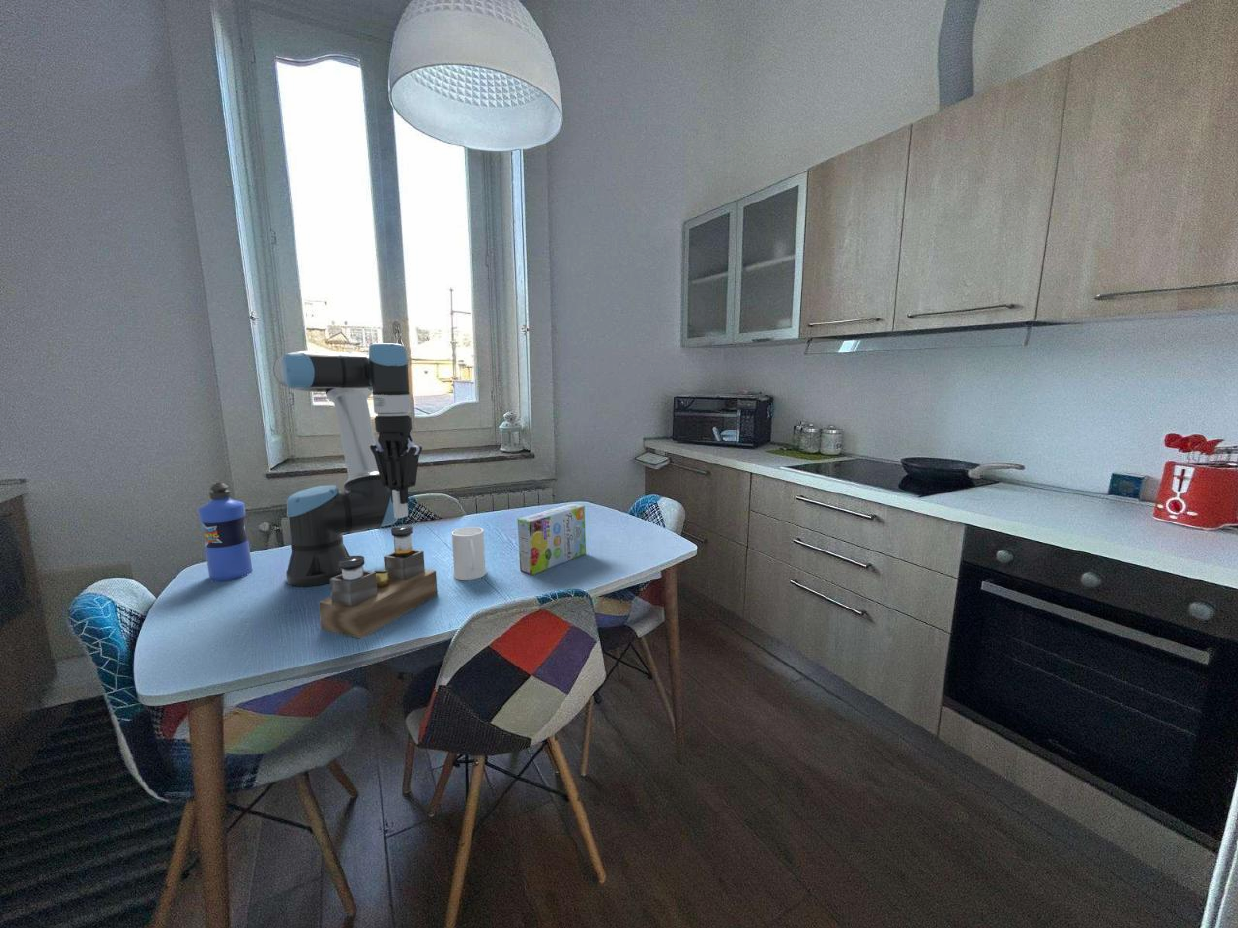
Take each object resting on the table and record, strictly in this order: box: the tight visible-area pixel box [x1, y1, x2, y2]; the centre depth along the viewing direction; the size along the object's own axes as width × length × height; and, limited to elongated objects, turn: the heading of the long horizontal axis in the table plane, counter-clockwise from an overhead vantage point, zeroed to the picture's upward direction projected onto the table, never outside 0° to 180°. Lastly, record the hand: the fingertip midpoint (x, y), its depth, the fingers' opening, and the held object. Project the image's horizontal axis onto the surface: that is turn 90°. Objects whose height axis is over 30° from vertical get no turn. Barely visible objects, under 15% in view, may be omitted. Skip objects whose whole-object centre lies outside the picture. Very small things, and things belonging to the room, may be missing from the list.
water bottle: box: [198, 482, 253, 582], centre depth 127 cm, size 9×9×25 cm
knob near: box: [339, 555, 365, 582], centre depth 101 cm, size 5×5×8 cm
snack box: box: [517, 503, 587, 576], centre depth 137 cm, size 21×6×15 cm, turn 141°
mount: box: [318, 549, 439, 640], centre depth 108 cm, size 11×22×11 cm, turn 160°
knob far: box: [390, 525, 414, 558], centre depth 113 cm, size 5×5×8 cm
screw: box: [374, 569, 389, 588], centre depth 108 cm, size 3×3×3 cm
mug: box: [451, 526, 487, 581], centre depth 127 cm, size 12×8×12 cm
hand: (401, 516), depth 112 cm, fingers closed
